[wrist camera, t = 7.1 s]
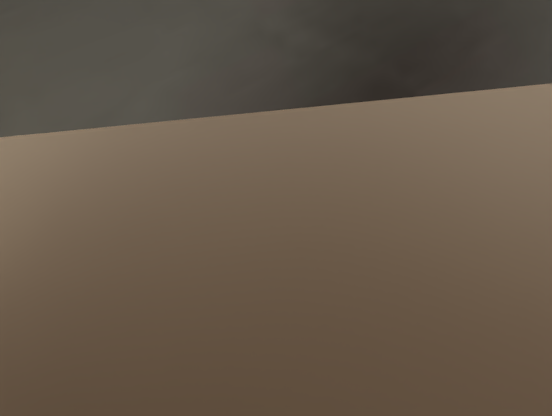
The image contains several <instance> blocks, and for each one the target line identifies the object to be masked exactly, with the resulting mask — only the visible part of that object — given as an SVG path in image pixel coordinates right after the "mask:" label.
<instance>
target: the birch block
mask: <svg viewBox="0 0 552 416" xmlns="http://www.w3.org/2000/svg"><path fill="white" fill-rule="evenodd" d="M0 416H552V83H551V84H541V85H531V86H521V87H511V88H500V89H490V90H480V91H470V92H460V93H449V94H439V95H429V96H419V97H409V98H398V99H388V100H378V101H368V102H358V103H347V104H337V105H327V106H317V107H307V108H296V109H286V110H276V111H266V112H256V113H245V114H235V115H225V116H215V117H205V118H194V119H184V120H174V121H164V122H154V123H143V124H133V125H123V126H113V127H102V128H92V129H82V130H72V131H62V132H51V133H41V134H31V135H21V136H11V137H0Z"/></svg>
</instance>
